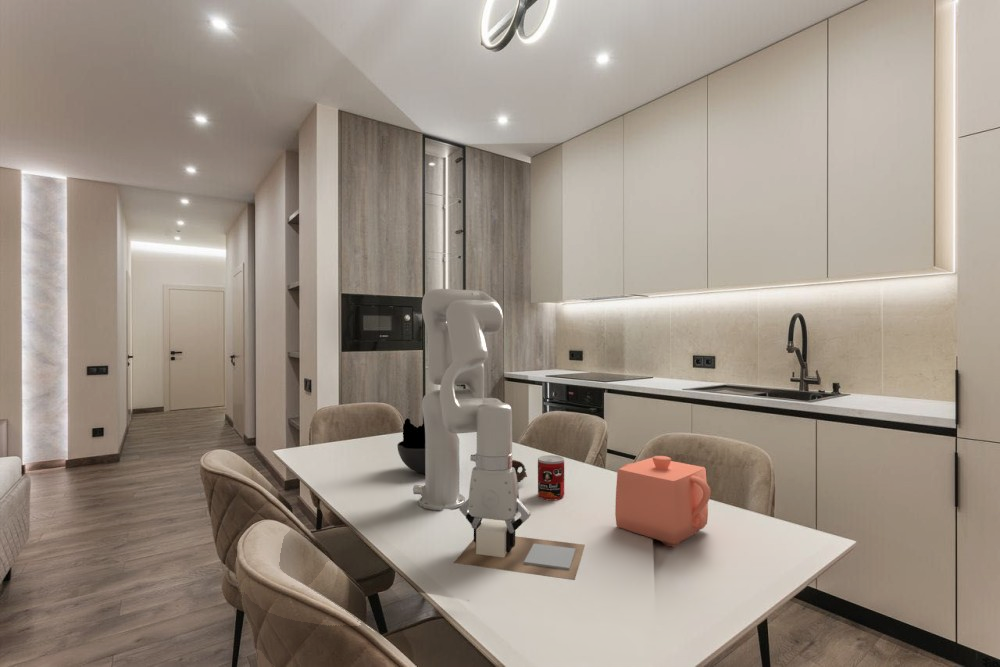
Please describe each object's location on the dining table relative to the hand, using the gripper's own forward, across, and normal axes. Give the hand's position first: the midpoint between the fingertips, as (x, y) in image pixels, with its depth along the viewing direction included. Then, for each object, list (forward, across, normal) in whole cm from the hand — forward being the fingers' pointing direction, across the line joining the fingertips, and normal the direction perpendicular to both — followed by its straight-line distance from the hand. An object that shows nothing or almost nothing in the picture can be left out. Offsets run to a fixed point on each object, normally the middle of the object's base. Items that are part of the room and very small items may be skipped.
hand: (494, 546), depth 102 cm
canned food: (+2, +4, +43) cm, 43 cm away
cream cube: (+1, 0, 0) cm, 1 cm away
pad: (+1, +12, 0) cm, 12 cm away
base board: (+2, +6, 0) cm, 6 cm away
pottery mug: (+2, -11, +52) cm, 54 cm away
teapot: (+2, +36, +27) cm, 45 cm away
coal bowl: (+2, -42, +56) cm, 70 cm away
